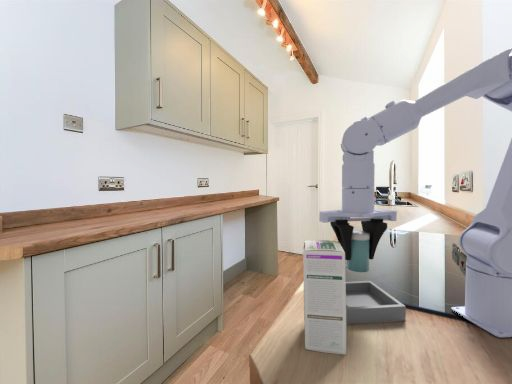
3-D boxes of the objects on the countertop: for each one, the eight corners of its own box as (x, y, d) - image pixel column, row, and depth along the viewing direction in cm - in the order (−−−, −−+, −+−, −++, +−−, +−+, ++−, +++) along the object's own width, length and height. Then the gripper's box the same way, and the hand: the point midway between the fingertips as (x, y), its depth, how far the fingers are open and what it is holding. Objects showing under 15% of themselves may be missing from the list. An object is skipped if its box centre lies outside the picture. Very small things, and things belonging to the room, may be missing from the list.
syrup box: (347, 356, 32) (348, 250, 31) (303, 350, 33) (303, 248, 32) (340, 330, 37) (341, 240, 37) (303, 326, 38) (303, 239, 38)
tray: (370, 292, 50) (370, 280, 50) (405, 320, 40) (405, 306, 40) (323, 294, 49) (323, 283, 49) (346, 324, 39) (346, 309, 39)
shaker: (361, 264, 48) (362, 230, 47) (373, 271, 44) (374, 234, 43) (342, 265, 47) (342, 230, 47) (352, 273, 43) (353, 235, 43)
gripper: (329, 189, 40) (329, 266, 41) (408, 188, 41) (407, 263, 42) (315, 188, 47) (315, 254, 48) (383, 187, 48) (383, 252, 49)
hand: (357, 258), depth 45 cm, fingers closed on shaker, 4 cm apart
